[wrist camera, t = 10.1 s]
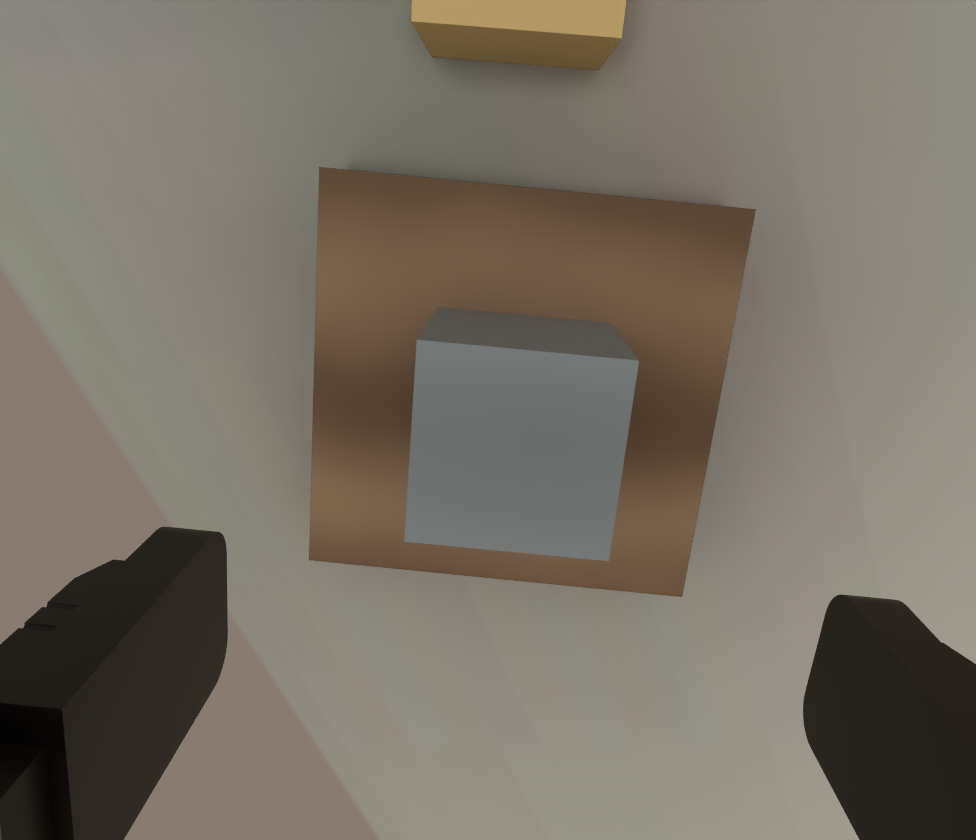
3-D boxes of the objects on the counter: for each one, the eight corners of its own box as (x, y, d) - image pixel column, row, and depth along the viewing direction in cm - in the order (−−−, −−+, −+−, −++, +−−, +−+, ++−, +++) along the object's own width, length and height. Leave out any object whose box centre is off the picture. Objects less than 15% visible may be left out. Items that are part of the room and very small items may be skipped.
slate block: (437, 306, 22) (416, 339, 17) (611, 323, 22) (639, 360, 17) (426, 469, 23) (404, 541, 18) (588, 484, 23) (608, 561, 18)
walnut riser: (342, 170, 24) (319, 167, 21) (726, 207, 23) (755, 209, 21) (331, 520, 27) (308, 560, 24) (663, 553, 27) (681, 596, 24)
